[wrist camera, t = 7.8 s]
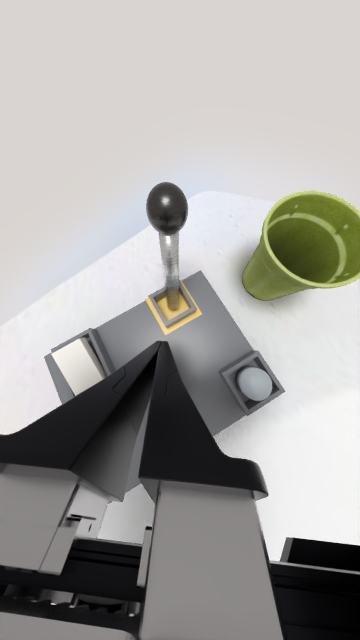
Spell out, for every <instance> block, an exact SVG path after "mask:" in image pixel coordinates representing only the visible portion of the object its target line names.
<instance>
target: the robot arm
mask: <svg viewBox="0 0 360 640" xmlns="http://www.w3.org/2000/svg"><path fill="white" fill-rule="evenodd" d="M150 397H151V400H150ZM149 400H150V405H149V412H148V418H147V424H146V430H145V436H144V443H143V449H142V455H141V461H140V468H139V474H138V478H139V480H140V481H141V483H142V484H143V486H144V488H145V489H146V491H147V492H148V494H149V495H150V497H151V499H152V500H153V502H154V503H155V510H154V518H153V525H152V527H148V526H146V529H145V535H144V541H143V544H136V543H128V542H120V541H112V540H104V539H97V537H98V534H99V531H100V527H101V524H102V521H103V517H104V514H105V511H106V507H107V504H108V501H109V500H110V501H119V502H123V499H124V495H125V490H126V485H127V480H128V475H129V470H130V465H131V460H132V455H133V450H134V446H135V442H136V439H137V436H138V433H139V430H140V427H141V424H142V421H143V418H144V415H145V412H146V409H147V406H148V403H149ZM267 496H268V491H267V487H266V484H265V481H264V478H263V475H262V472H261V470H260V467H259V465H258V464H257V463H255V462H253V461H251V460H247V459H241V458H232V457H228V456H227V455H225V454H224V453H223V452H222V451H221V450H220V448H219V447H218V445H217V443H216V442H215V440H214V438H213V436H212V434H211V432H210V431H209V429H208V427H207V425H206V423H205V422H204V420H203V418H202V416H201V414H200V412H199V411H198V409H197V407H196V405H195V403H194V402H193V400H192V398H191V396H190V394H189V392H188V391H187V389H186V387H185V385H184V383H183V381H182V379H181V376H180V374H179V371H178V368H177V366H176V363H175V360H174V357H173V354H172V351H171V348H170V346H169V343H168V341H163V342H162V341H156V342H154V343H153V344H152V345H150V346H149V347H148V348H146V349H145V350H144V351H142V352H141V353H140V354H138V355H137V356H136V357H134V358H133V359H131V360H130V361H129V362H127V363H126V364H125V365H124V366H122V367H120V368H119V369H118V370H116V371H115V372H113V373H112V374H110V375H109V376H107V377H106V378H104V379H103V380H101V381H100V382H98V383H96V384H95V385H93V386H91V387H90V388H88V389H87V390H85V391H83V392H82V393H80V394H79V395H77V396H75V397H74V398H72V399H70V400H69V401H67V402H66V403H64V404H62V405H61V406H59V407H57V408H56V409H54V410H53V411H51V412H49V413H48V414H46V415H45V416H43V417H41V418H40V419H38V420H36V421H35V422H33V423H32V424H30V425H28V426H27V427H25V428H23V429H22V430H20V431H18V432H15V433H13V434H9V435H1V434H0V640H360V546H358V545H350V544H341V543H333V542H325V541H316V540H308V539H300V538H289V537H286V541H285V545H284V548H283V552H282V555H281V559H280V562H278V561H270V560H269V557H268V553H267V548H266V544H265V540H264V535H263V531H262V527H261V523H260V518H259V514H258V510H257V505H256V501H257V500H259V499H262V498H265V497H267ZM33 600H34V601H38V602H33ZM51 603H55V604H56V605H52V604H51Z"/></svg>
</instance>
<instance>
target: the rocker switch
mask: <svg viewBox="0 0 360 640" xmlns="http://www.w3.org/2000/svg"><path fill="white" fill-rule="evenodd" d="M51 355H52V356H53V358H54V360H55V362H56V363H57V365H58V367H59V368H60V370H61V372H62V374H63V375H64V377H65V379H66V381H67V382H68V384H69V386H70V387H71V389H72V391H73V393H74V394H75V396H76V395H77V394H79V393H81V392H83V391H84V390H86V389H88V388H90V387H91V386H93V385H95V384H96V383H98V382H100V381H101V380H103V379H104V378H106V377H107V374H106V373H105V371H104V369H103V367H102V366H101V364H100V362H99V361H98V359H97V357H96V355H95V354H94V352H93V350H92V348H91V347H90V345H89V343H88V342H87V340H86V338H79V339H77V340H75V341H74V342H72V343H70V344H68V345H66V346H65V347H63V348H61V349H59V350H57V351H56V352H54V353H52V354H51Z"/></svg>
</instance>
